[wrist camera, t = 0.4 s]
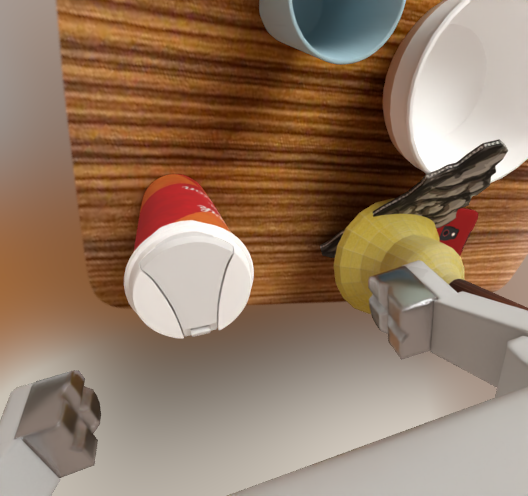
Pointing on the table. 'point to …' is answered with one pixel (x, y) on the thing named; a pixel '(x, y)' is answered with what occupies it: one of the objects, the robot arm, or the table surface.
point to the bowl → (461, 84)
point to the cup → (332, 26)
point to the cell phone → (458, 229)
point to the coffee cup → (185, 262)
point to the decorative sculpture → (441, 190)
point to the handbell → (396, 255)
